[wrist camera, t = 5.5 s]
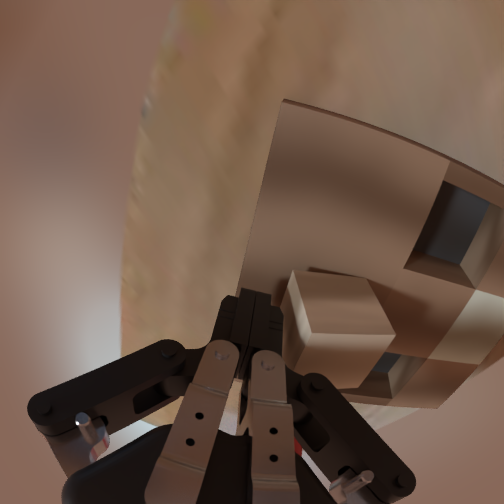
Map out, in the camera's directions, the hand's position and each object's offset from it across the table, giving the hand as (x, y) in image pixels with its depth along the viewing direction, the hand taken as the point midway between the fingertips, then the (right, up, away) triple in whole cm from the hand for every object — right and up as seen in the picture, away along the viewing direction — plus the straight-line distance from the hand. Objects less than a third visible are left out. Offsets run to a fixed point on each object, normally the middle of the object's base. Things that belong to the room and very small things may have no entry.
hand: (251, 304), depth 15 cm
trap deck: (+9, 0, +4) cm, 10 cm away
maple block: (+3, 0, +1) cm, 4 cm away
